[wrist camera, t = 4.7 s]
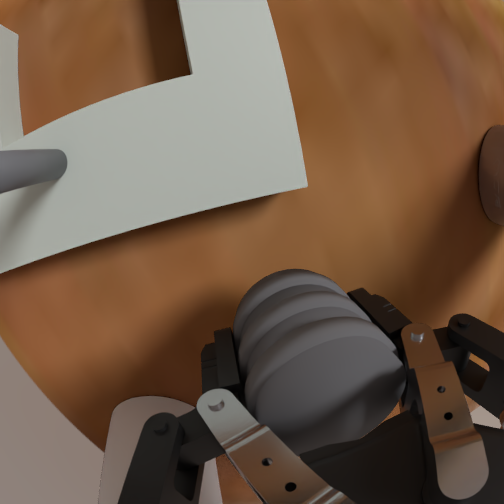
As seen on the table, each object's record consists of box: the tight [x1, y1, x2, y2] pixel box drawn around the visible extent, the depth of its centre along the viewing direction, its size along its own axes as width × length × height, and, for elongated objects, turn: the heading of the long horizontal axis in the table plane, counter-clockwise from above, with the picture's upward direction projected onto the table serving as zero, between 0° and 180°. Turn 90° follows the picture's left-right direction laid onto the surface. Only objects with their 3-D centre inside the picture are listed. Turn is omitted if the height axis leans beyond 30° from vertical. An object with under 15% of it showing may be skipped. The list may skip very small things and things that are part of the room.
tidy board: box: [0, 0, 308, 273], centre depth 8 cm, size 18×14×8 cm
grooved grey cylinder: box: [233, 269, 406, 456], centre depth 11 cm, size 5×5×6 cm
